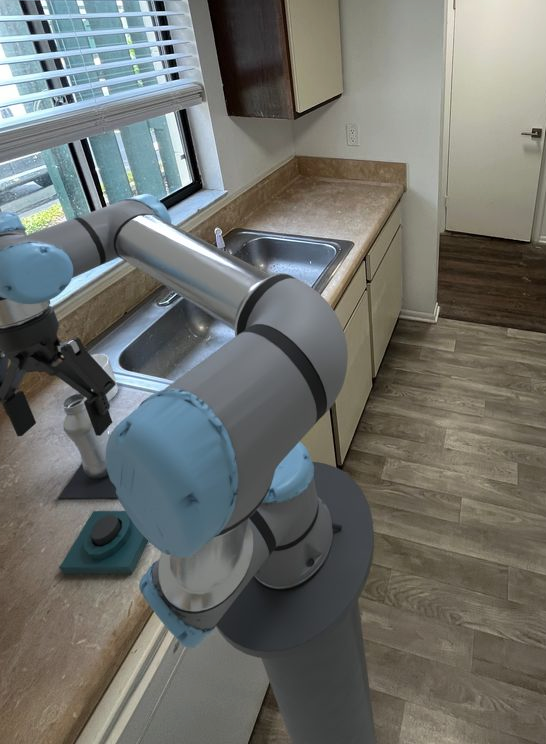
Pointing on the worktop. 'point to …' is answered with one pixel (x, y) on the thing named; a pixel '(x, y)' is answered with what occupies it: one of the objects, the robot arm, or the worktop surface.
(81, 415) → the silver bottle
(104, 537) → the button
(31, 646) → the worktop surface
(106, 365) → the white cup
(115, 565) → the teal pump base
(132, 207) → the robot arm
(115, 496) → the mat
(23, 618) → the worktop surface
